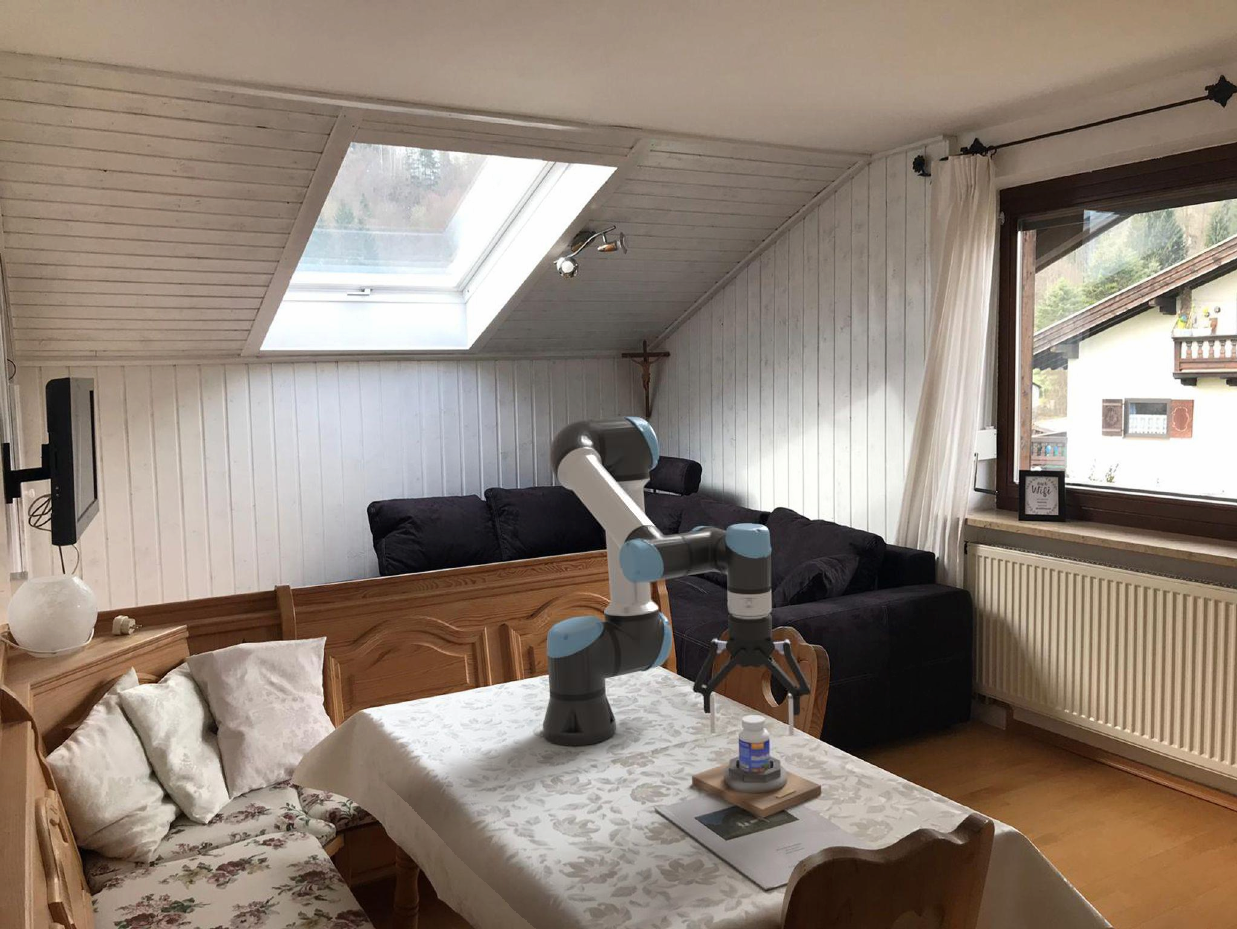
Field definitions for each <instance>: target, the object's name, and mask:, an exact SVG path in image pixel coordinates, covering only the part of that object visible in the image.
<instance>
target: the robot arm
mask: <svg viewBox="0 0 1237 929" xmlns="http://www.w3.org/2000/svg"><path fill="white" fill-rule="evenodd" d="M548 458H549V466H550V468H551V471H552V473H553V475H554V476H555V478H556V480H557V482H559V483H560V484H561V486H562V487H564V488H566V489H567V490H570V491H573V492H574V494H575V495H576V496H577V498H579V499H580V501H581V502H582V504H583V505H584V506H585V507H586V508H587V509H588V511H589V512H590V513H591V514H592V516H593V517H594V518H595V519H596V521H597V522H598V523H599V524H600V525H601V527H602V528H603V529H604V530H605V541H606V554H607V558H606V559H607V569H608V583H609V597H610V602H609V604H607V606H606V607H605V608H604V610H603V612H604V621H603V620H602V619H601V618H600V617H598V616H593V615H585V616H576V617H575V616H574V617H570V618H567V619H564V620H562V621H559V622H558V623H555V624H554V625H552V627H551V628H550V629H549V630H548V632H547V636H546V637H547V638H546V639H547V640H546V652H545V653H546V655H547V657H546V658H547V670H548V686H549V700H548V703H547V708H546V711H545V714H544V720H543V722H542V731H543V732H542V733H543V734H542V735H543V738H544V739H545V740H546V741H548V742H551V743H553V744H555V745H561V746H573V747H574V746H589V745H593V744H597V743H600V742H605V741H606V740H609V739H610V738H612V737H613V736H614V735H615V734H616V732H617V725H616V724H617V723H616V722H617V721H616V717H615V715H614V712H613V710H612V708H611V704H610V702H609V698H608V696H607V692H606V688H607V687H606V679H611V678H615V677H619V676H625V675H629V674H633V673H638V672H647V671H649V670H651V669H655V668H658V667H661V666H662V665H663V664H664V663H665V662H666V660H667V659H668V657H669V656H670V653H671V650H672V642H673V641H672V640H673V635H672V634H673V633H672V628H671V626H670V625H669V623H670V622H669V620H668V618H667V617H666V615H664V614H663V613H662V612H660V611H659V610H660V609H659V606H658V604H656V602H654V601H653V600H652V598H651V597H652V596H651V594H652V593H651V584H650V583H653V582H657V581H662V580H668V579H673V578H680V577H685V576H686V577H687V576H691V575H698V574H704V573H711V572H717V573H721V574H723V575H725V576H726V577H727V578H726V579H727V580H726V581H727V585H726V586H727V611H728V613H729V615H727V620H728V621H727V625H728V626H727V627H728V628H727V629H728V635H727V636H728V639H727V641H725V640H719V639H718V638H716V637H713V638H712V639H711V641H710V647H709V648H710V649H709V653H708V655H707V657H706V659H705V661H704V663H703V665H702V666H701V669H700V671H699V673H698V675H697V677H696V679H695V681H694V684H693V688H692V691H693V692H694V693H696V694H697V693H698V694H701V696H702V697H703V711H704V713H705V714H710V717H709V718H710V721H709V722H710V733H711V734H716V730H717V722H716V721H717V720H716V714H717V713H716V712H717V711H716V692H715V690H716V688H717V687H718V686H719V685H720V684H721V683H722V681H724V679H726V677H727V675H729V673H730V672H731V671H732V670H734V669H735V667H736V666H737V665H738V666H741V668H748V667H753V668H760V667H761V666H764V667H765V668H766V669H767V670H768V671H769V672H771V673H772V675H773V676H774V677H775V678H776V679H777V680H778V682H779V683H781V685H782V686H783V687H784V689H786V690H787V691H788V735H789V736H794V735H795V734H794V731H795V730H794V716H799V715H800V714H801V702H800V700H801V698H802V697H803V696H809V695H810V694H811V686H810V683H809V682H808V680H807V678H806V676H805V674H804V672H803V671H802V669H801V667H800V665H799V663H798V662H797V659H796V657H795V656H794V653H793V652H792V649H791V648H792V647H791V642H790V639H788V638H785V639H783V641H781V640H780V641H774V639H773V616H772V615H771V614H770V613H771V612H772V611H773V610H772V609H773V608H772V607H773V606H772V546H771V536H770V530H769V529H768V527H767V526H766V525H763V524H759V523H751V522H750V523H737V524H736V523H735V524H732V525H729V526H728V527H727V528H726V530H724V529H720V528H719V527H715V526H704V525H700V526H696V527H693V529H691V530H690V531H688V532H684V533H683V532H682V533H675V534H667V535H665V534H663V533H662V531H660V529H659V528H658V527H656V525H655V524H654V523H653V522H652V521H651V519H649V517H648V516H647V515H646V511H645V495H644V487H645V486H646V484H647V483H648V482H650V480H651V478H650V471H652V470H653V469H655V468H656V466H657V465H658V463H659V462H658V460H659V458H660V446H659V442H658V438H657V435H656V433H655V431H654V429H653V427H652V426H651V425H650V423H649V422H648V421H646V420H645V419H644V418H641V417H639V416H638V417H637V416H619V417H608V418H607V417H606V418H597V419H596V418H593V419H581V420H574V421H572V422H570V423H568V424H566V425H564V426H563V427H562V428H561V429H560V430H558V432H557V433H556V434H555V436H554V437H553V440H552V442H551V444H550V448H549V456H548ZM723 650H726V651H727V652H728V654H729V655H730V656H729V657H728V659H727V660H726V661H725V663H723V665H722V666H721V667H720V668H719V669H718V671H717V672H716V673H714V675H713V677H712V678H711V679H709V681H708V682H707V683H706V684H704V682H705V681H706V678H707V676H708V674H709V672H710V671H711V668H712V666H713V664H714V662H715V660H716V657H717V654H721V653H722V652H723ZM775 650H777V651H778V652H779V654H780V655H784V659H785V661H786V663H787V665H788V667H789V668H790V670H791V673H792V674H793V676H794V678H795V680H796V681H797V683H798V685H799V686H798V685H796V684H795V683H794V681H793V680H792V679H791V677H789V676H788V675H787V674H786V673H785V671H784V670H783V669H782V668H781V667H780V665H779V664H778V663H777V662H776V661H775V659H774V658H773V657H772V654H773V653H774V651H775Z"/></svg>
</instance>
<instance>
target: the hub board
mask: <svg viewBox="0 0 1237 929" xmlns="http://www.w3.org/2000/svg"><path fill="white" fill-rule="evenodd" d="M691 783H692V784H691V785H693V786H696V787H697V788H700V789H701V790H704V791H706V792H708V793H710V794H713V795H714V796H717V797H718V798H721V799H722V798H723V800H725V801H726V800H727V802H728V803H731V804H733V805H735V806H737V807H739V808H740V809H744V810H745V811H747V812H750V813H751V814H753V815H756V816H758V817H760V818H762V819H763V818H764V819H765V818H767V817H770V816H771V815H774V814H776V813H778V812H780V811H781V812H782V811H783V810H785V809H788V808H791V807H793V806H795V805H797V804H800V803H802V802H806V801H807V800H810V799H812V798H815V797H817V796H819V795H822V785H821V784H820V783H819V784H818V783H816V782H813V781H812V780H809V779H807V778H804V777H802V776H799V775H797V774H795V773H792V772H790V771H788V770H787V769H785V767H783V766H782V765H781V760H780V759H778V758H776V757H772V756H770V769H768V770H766V771H763V772H746V771H744V770H742V769H740V765H739V755H738V756H736V757H734V758H730V759H729V762H726V763H724V764H721V765H719V766H715V767H713V768H710V769H708V770H704V771H701V772H699V773H696V774H694V775H691Z"/></svg>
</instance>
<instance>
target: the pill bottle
mask: <svg viewBox="0 0 1237 929" xmlns="http://www.w3.org/2000/svg"><path fill="white" fill-rule="evenodd" d="M765 719H766V718H765V717H763V716H762V715H755V714H752V715H751V714H749V715H745V716H743V717H742V719H741V726H742V728H741V729H740V730H739V732H738V754H739V755H738V756H739V765H740V769H742V770H744V771H746V772H763V771H766V770H768V769H770V757H771V748H770V746H771V745H770V742H771V741H770V733H769V731H768V730H767V729H766V728H765V727H766V720H765Z"/></svg>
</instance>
